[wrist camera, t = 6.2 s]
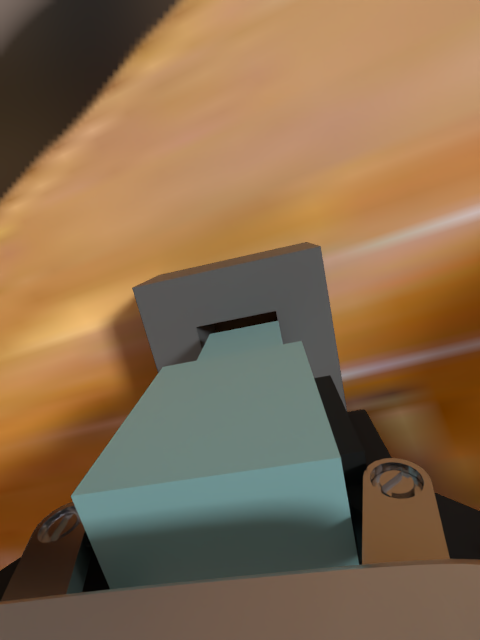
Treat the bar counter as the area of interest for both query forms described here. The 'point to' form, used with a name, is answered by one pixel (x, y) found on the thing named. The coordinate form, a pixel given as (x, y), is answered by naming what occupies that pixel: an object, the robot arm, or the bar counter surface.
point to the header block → (243, 305)
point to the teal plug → (221, 471)
